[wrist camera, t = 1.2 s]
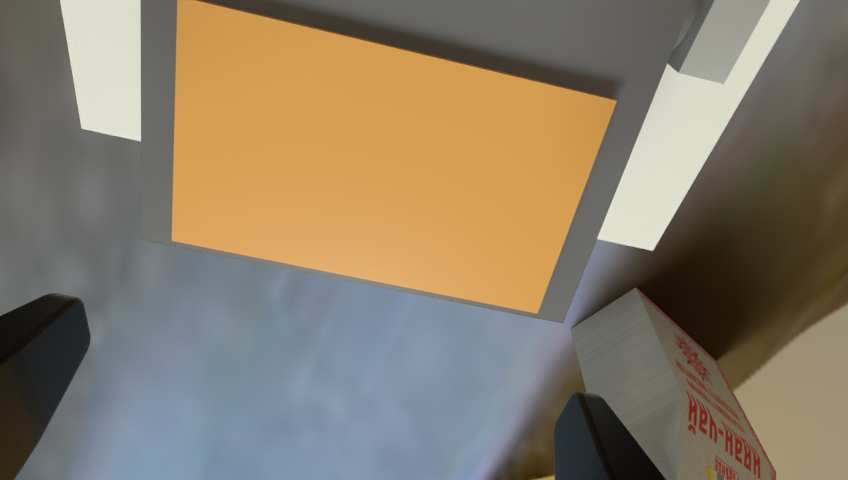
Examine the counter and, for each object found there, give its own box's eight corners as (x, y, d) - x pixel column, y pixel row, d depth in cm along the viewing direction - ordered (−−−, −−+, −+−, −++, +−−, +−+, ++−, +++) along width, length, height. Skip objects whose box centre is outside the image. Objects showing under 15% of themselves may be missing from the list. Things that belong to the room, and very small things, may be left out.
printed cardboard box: (651, 394, 28) (734, 612, 20) (570, 328, 25) (625, 545, 17) (716, 360, 26) (835, 583, 18) (636, 286, 24) (731, 504, 16)
